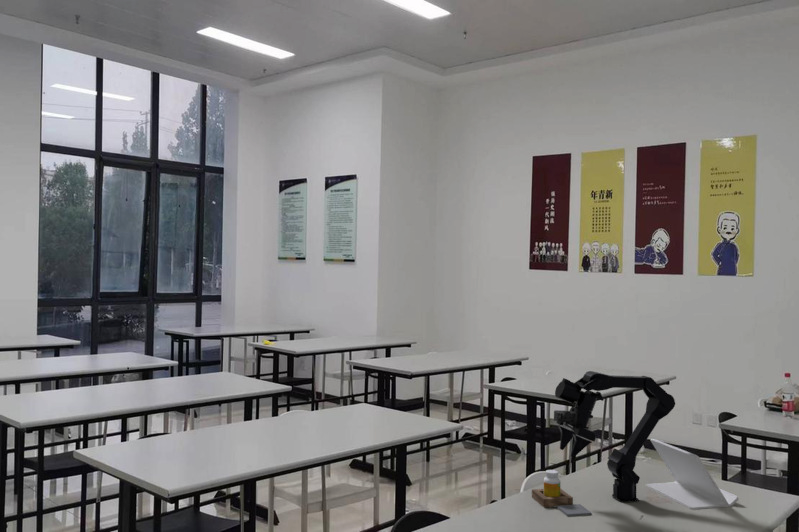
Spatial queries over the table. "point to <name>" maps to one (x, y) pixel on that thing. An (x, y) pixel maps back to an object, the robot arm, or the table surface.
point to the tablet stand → (689, 480)
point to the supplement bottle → (551, 484)
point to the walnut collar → (551, 498)
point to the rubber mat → (574, 510)
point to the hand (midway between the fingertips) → (566, 453)
